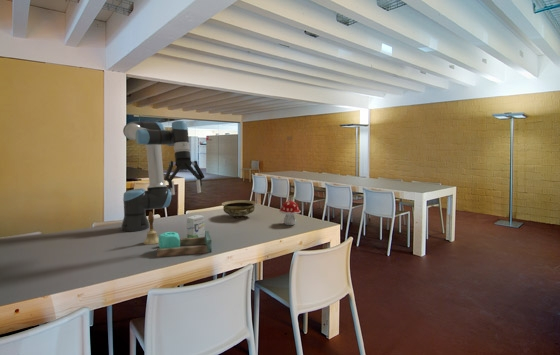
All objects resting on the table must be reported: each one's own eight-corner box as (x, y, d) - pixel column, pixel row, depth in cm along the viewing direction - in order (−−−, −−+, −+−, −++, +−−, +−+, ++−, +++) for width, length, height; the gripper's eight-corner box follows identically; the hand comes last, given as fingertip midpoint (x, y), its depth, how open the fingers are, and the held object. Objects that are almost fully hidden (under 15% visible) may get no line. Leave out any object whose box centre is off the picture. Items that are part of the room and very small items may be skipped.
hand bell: (143, 245, 159) (142, 214, 158) (143, 240, 167) (142, 210, 165) (161, 243, 163) (160, 212, 161) (160, 239, 170) (159, 209, 169)
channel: (157, 256, 143) (156, 243, 143) (159, 246, 158) (159, 234, 158) (211, 252, 150) (211, 239, 150) (208, 242, 165) (208, 230, 165)
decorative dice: (180, 251, 151) (179, 234, 150) (162, 254, 147) (162, 237, 146) (175, 246, 158) (175, 231, 157) (158, 249, 153) (158, 233, 153)
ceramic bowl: (218, 213, 234) (218, 200, 233) (250, 211, 242) (250, 198, 241) (225, 223, 206) (225, 208, 205) (261, 220, 214) (261, 206, 213)
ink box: (198, 235, 178) (198, 214, 177) (205, 236, 175) (204, 215, 174) (186, 239, 171) (186, 217, 170) (193, 240, 168) (193, 218, 167)
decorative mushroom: (294, 220, 215) (294, 198, 213) (304, 225, 202) (304, 201, 201) (275, 222, 209) (275, 199, 207) (284, 227, 196) (285, 203, 195)
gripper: (159, 150, 150) (164, 195, 149) (208, 150, 166) (212, 190, 164) (154, 153, 156) (158, 196, 154) (201, 153, 172) (206, 192, 170)
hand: (186, 193), depth 159 cm, fingers open, 13 cm apart
